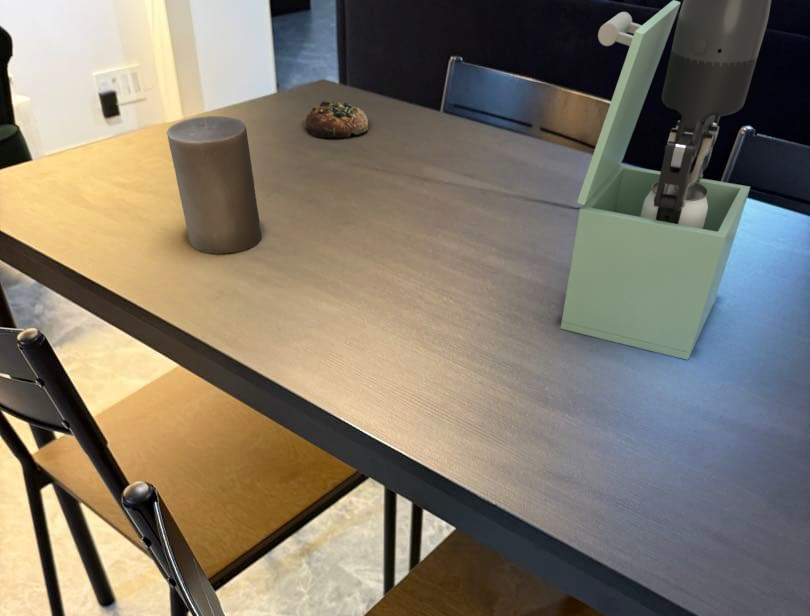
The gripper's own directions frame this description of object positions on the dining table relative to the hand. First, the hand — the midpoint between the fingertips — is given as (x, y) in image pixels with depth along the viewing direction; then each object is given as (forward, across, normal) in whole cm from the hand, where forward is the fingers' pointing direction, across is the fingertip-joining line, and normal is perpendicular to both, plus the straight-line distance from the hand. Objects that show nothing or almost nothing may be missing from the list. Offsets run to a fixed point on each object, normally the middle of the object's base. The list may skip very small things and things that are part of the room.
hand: (670, 230), depth 80 cm
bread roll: (+10, +40, +65) cm, 77 cm away
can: (+8, 0, 0) cm, 8 cm away
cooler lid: (-11, 0, +6) cm, 13 cm away
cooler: (+10, 0, +1) cm, 10 cm away
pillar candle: (+10, -5, +56) cm, 57 cm away
